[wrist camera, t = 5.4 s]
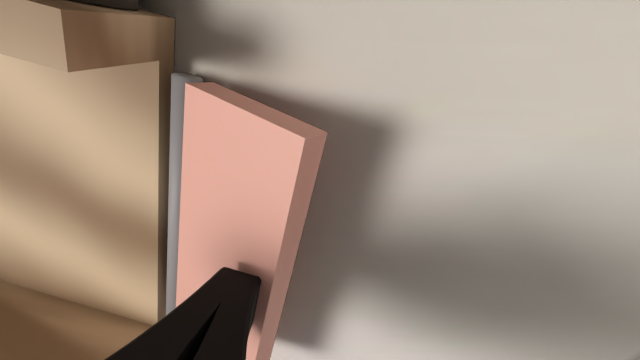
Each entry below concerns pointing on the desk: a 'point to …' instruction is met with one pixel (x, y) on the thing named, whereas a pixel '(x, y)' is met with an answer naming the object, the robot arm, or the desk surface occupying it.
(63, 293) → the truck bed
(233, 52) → the desk surface
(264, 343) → the tailgate
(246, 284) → the robot arm
